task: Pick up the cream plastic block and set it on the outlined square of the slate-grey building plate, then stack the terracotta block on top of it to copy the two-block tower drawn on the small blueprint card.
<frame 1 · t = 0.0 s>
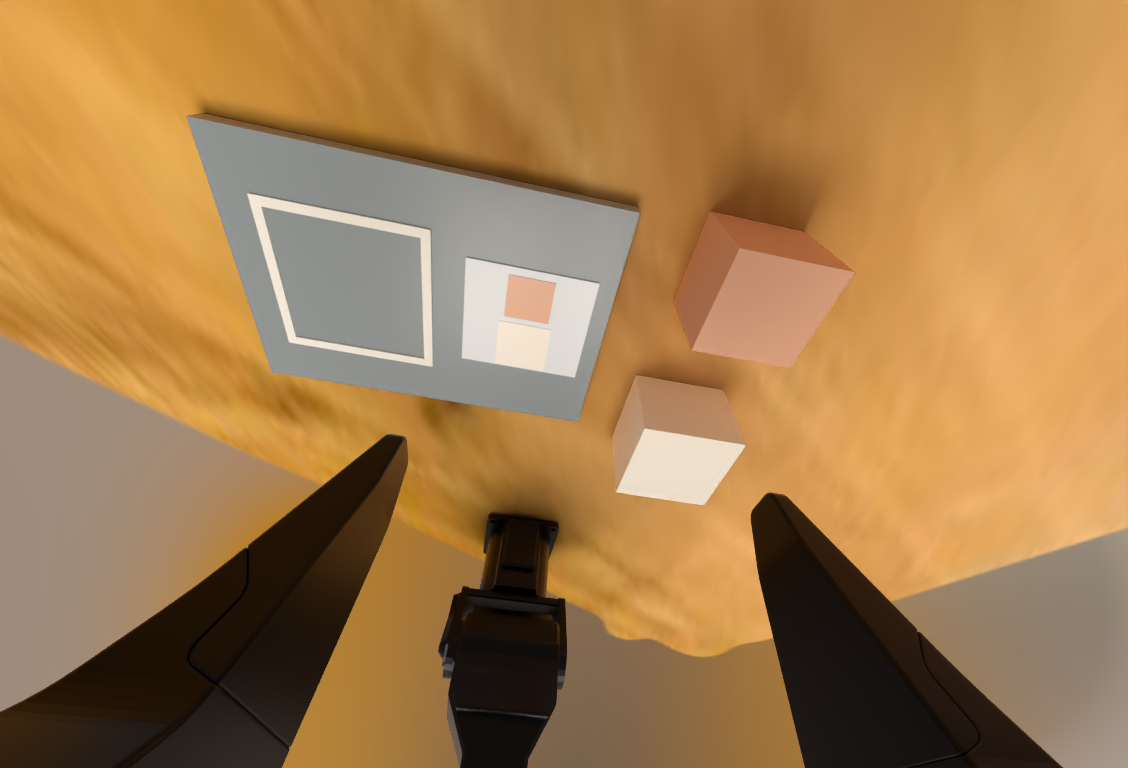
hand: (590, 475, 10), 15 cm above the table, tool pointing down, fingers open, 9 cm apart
terracotta block: (734, 267, 22), on the table
cream block: (664, 413, 29), on the table
building plate: (432, 296, 23), on the table
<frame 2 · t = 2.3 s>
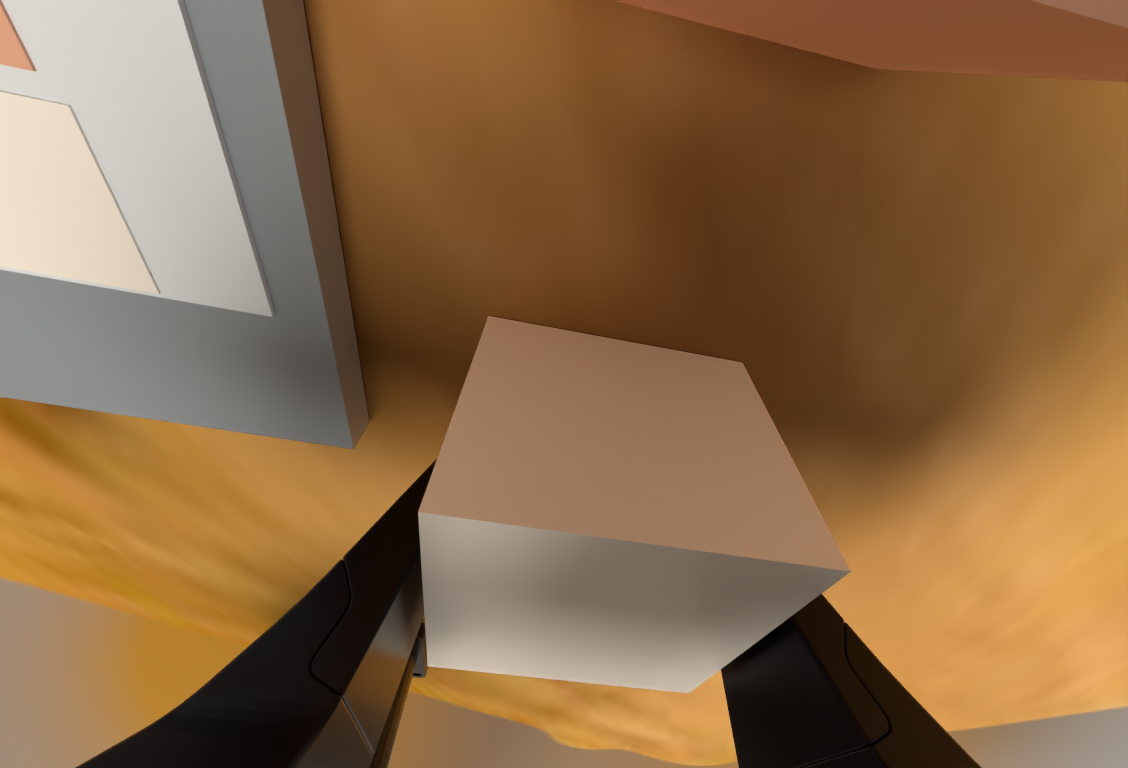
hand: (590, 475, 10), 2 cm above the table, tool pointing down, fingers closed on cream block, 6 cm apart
cream block: (589, 429, 11), on the table, touching gripper
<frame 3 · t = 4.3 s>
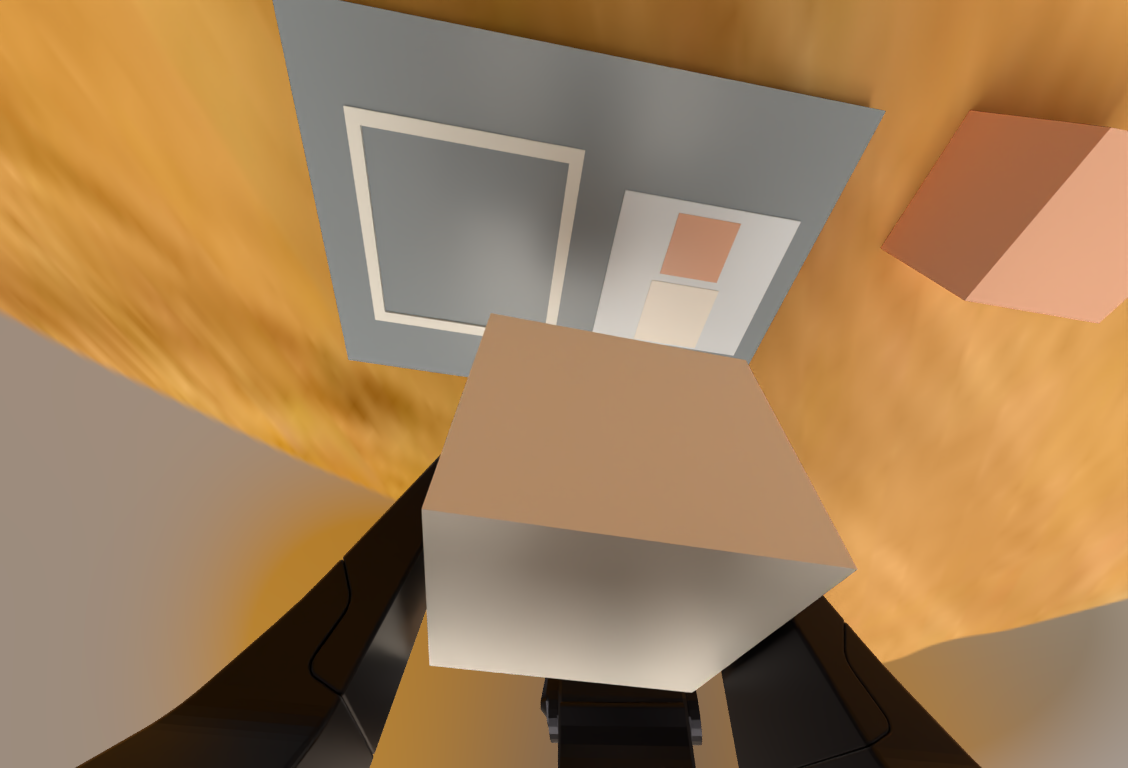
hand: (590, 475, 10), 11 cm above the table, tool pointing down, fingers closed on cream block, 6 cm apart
terracotta block: (977, 196, 16), on the table
cream block: (591, 428, 11), point 10 cm above the table, touching gripper
building plate: (561, 252, 18), on the table
when the fingers open (4 cm above the table, at t = 6.5 s): cream block drops 1 cm, resting on building plate.
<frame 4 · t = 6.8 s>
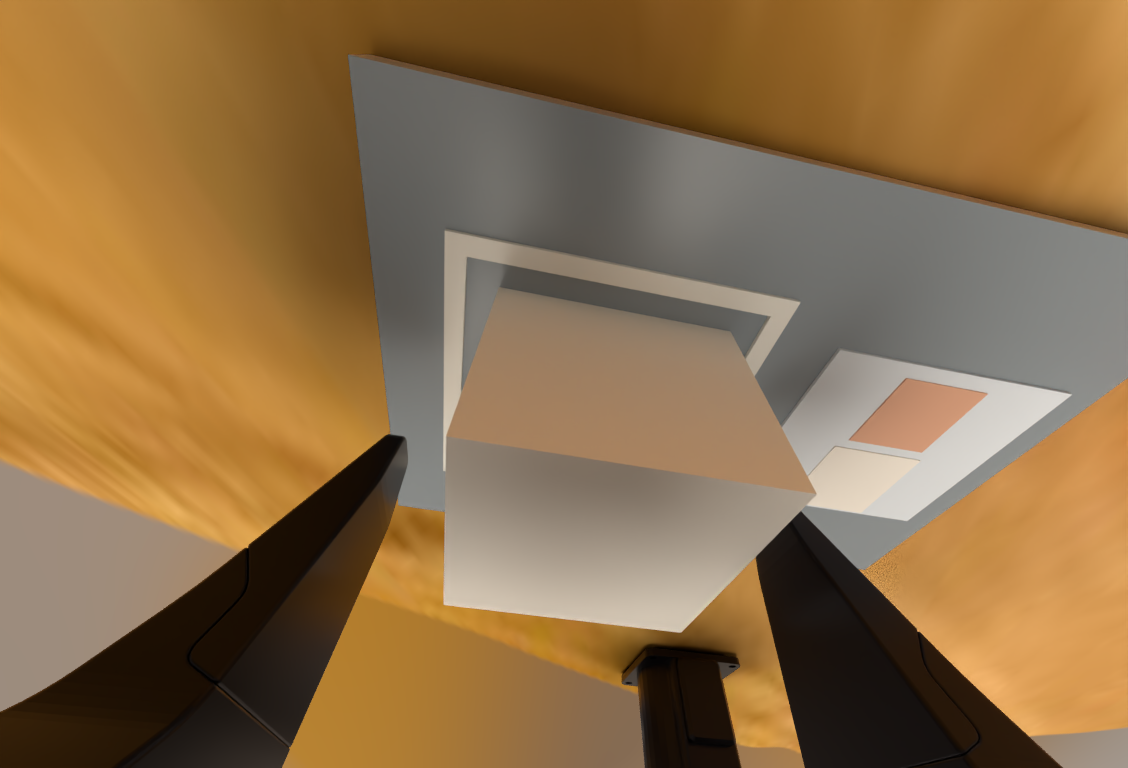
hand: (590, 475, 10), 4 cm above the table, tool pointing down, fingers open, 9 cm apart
cream block: (590, 397, 12), point 1 cm above the table, touching building plate
building plate: (707, 399, 13), on the table
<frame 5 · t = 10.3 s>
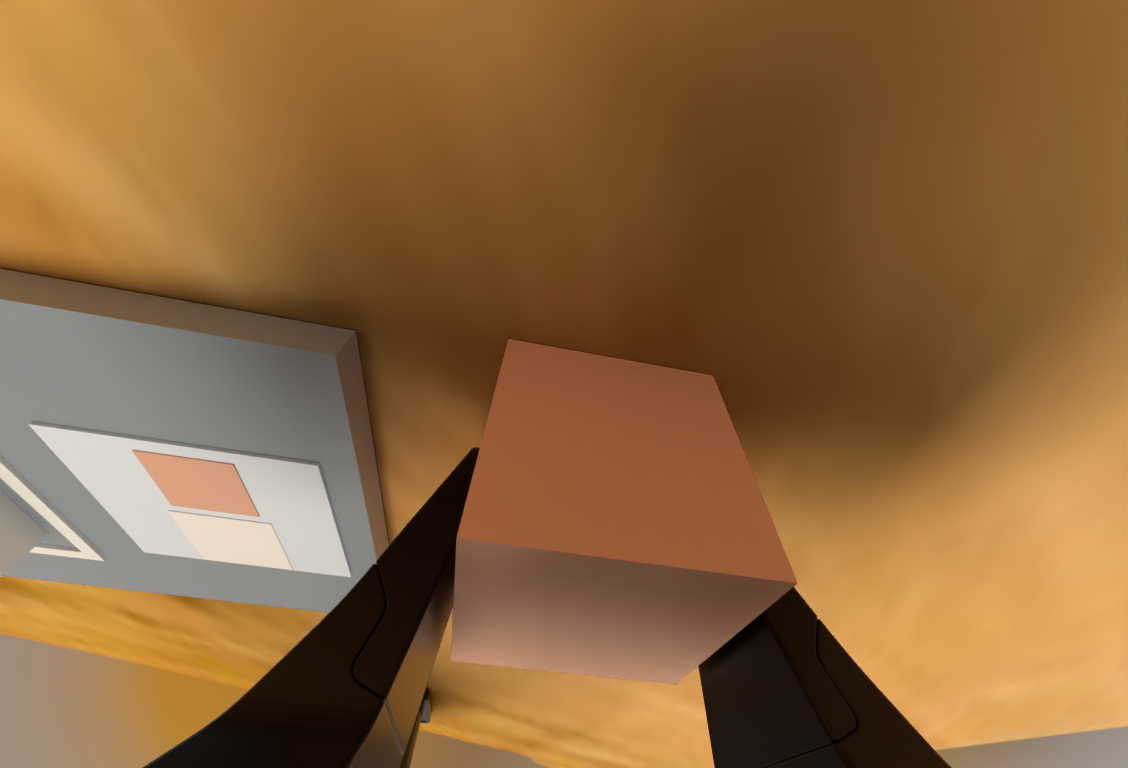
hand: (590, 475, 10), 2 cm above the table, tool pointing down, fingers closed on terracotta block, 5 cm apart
terracotta block: (589, 430, 11), on the table, touching gripper
building plate: (59, 460, 13), on the table
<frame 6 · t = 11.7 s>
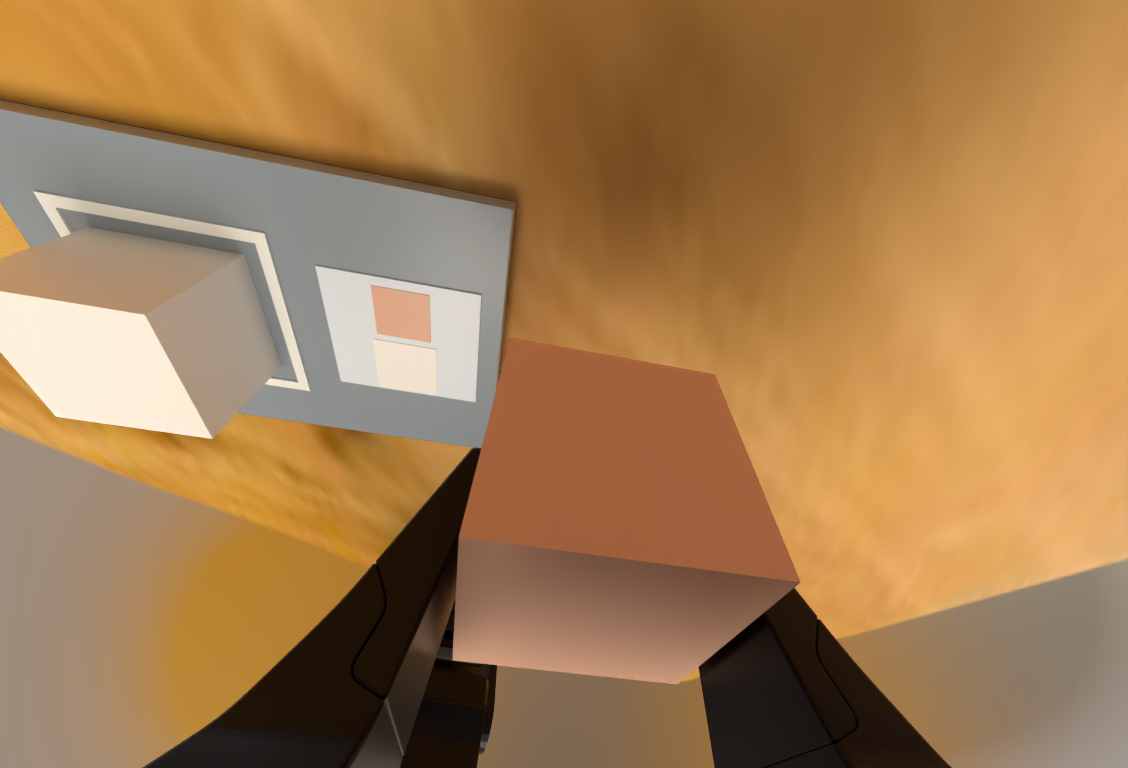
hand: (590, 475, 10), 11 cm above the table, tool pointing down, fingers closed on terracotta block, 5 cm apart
terracotta block: (590, 429, 11), point 9 cm above the table, touching gripper
cream block: (196, 304, 19), point 1 cm above the table, touching building plate
building plate: (297, 310, 20), on the table
when the fingers open (9 cm above the table, at t = 13.6 s): terracotta block drops 1 cm, resting on cream block.
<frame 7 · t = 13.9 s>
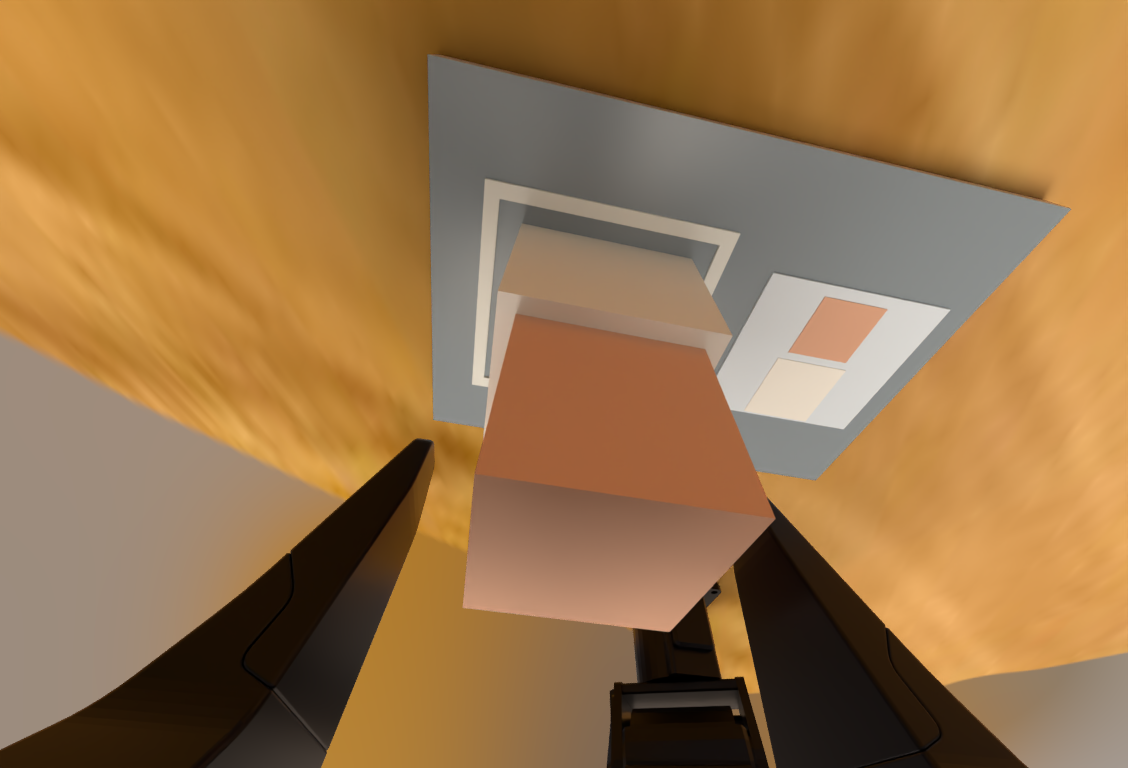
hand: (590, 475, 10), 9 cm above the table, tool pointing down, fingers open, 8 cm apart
terracotta block: (590, 402, 12), point 6 cm above the table, touching cream block
cream block: (588, 316, 16), point 1 cm above the table, touching building plate, terracotta block
building plate: (680, 323, 17), on the table
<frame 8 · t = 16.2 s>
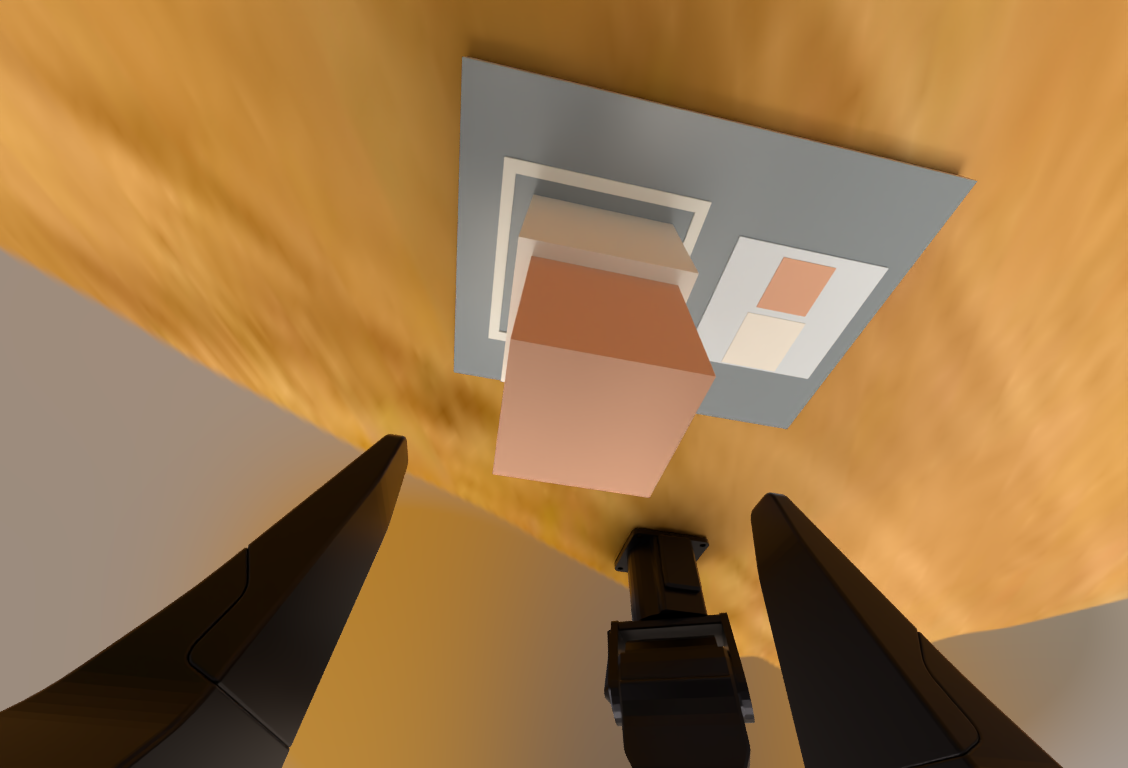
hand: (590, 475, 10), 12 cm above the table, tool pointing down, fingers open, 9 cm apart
terracotta block: (588, 333, 15), point 6 cm above the table, touching cream block
cream block: (587, 275, 19), point 1 cm above the table, touching building plate, terracotta block
building plate: (665, 284, 20), on the table
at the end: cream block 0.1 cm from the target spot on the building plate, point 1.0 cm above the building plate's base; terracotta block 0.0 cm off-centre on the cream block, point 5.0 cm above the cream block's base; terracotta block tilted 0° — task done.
